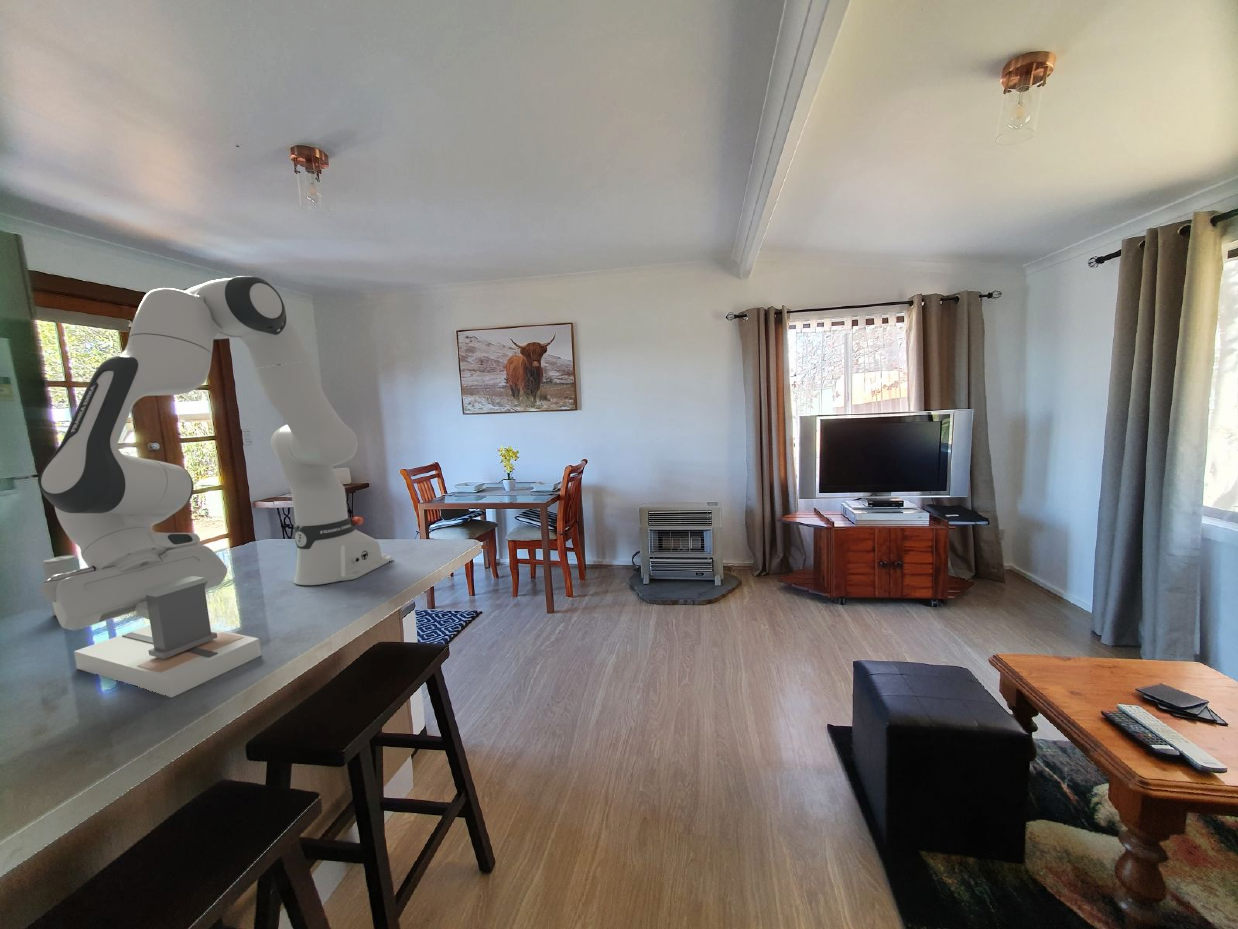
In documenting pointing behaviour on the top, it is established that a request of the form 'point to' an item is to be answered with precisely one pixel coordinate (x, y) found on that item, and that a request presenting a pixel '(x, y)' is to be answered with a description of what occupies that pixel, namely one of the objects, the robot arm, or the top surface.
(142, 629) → the fader console
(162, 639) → the fader knob
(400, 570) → the top surface
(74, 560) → the beverage can
